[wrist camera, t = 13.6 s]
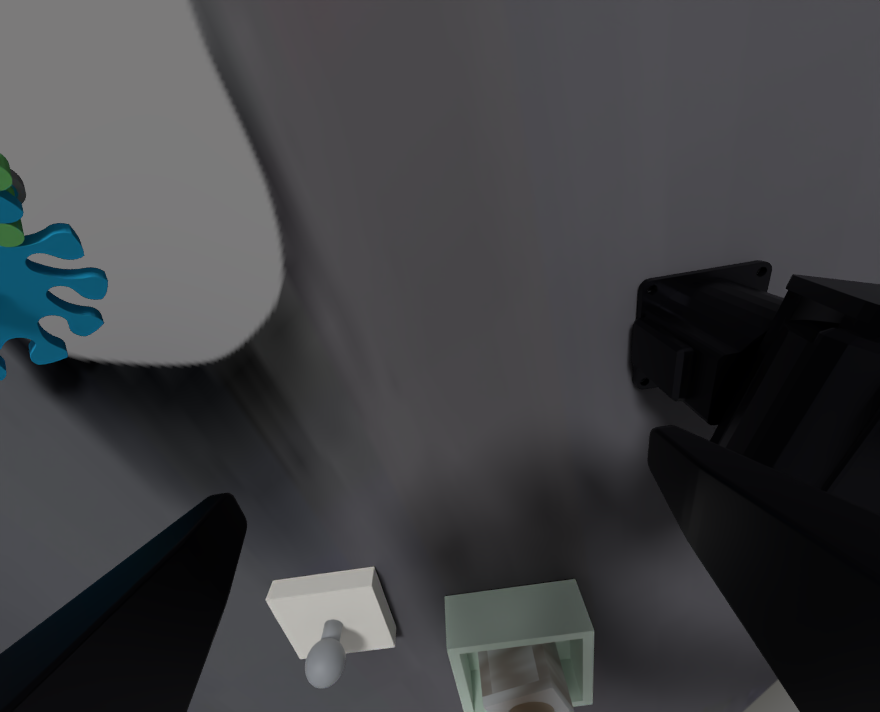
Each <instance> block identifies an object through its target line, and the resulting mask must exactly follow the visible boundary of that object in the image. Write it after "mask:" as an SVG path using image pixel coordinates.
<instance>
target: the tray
mask: <svg viewBox="0 0 880 712" xmlns="http://www.w3.org/2000/svg"><path fill="white" fill-rule="evenodd" d="M445 620H446V645H447V652H448V656H449V660H450V663H451V667H452V670H453V674H454V678H455V681H456V685H457V688H458V692H459V696H460V699H461V703H462V706H463V710H464V712H487V711H486V710H485V709H484V707H483V698H482V689H481V679H480V670H479V660H478V652H480V651H488V650H496V649H504V648H512V647H519V646H527V645H535V644H543V643H551V642H555V644H556V647H557V651H558V655H559V658H560V662H561V666H562V669H563V673H564V676H565V680H566V684H567V687H568V691H569V695H570V698H571V702H572V705H573V707H575V706H583V705H592V704H593V664H594V629H593V626H592V623H591V620H590V618H589V615H588V612H587V610H586V607H585V604H584V601H583V599H582V596H581V593H580V591H579V588H578V585H577V582H576V580H575V579H570V580H563V581H555V582H548V583H540V584H533V585H525V586H518V587H510V588H503V589H495V590H488V591H480V592H473V593H465V594H458V595H451V596H445Z"/></svg>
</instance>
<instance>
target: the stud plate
mask: <svg viewBox="0 0 880 712" xmlns="http://www.w3.org/2000/svg"><path fill="white" fill-rule="evenodd" d="M266 602H267V604H268V605H269V607H270V609H271V611H272V612H273V614H274V616H275V617H276V619H277V621H278V622H279V624H280V626H281V627H282V629H283V631H284V633H285V634H286V636H287V638H288V639H289V641H290V643H291V644H292V646H293V648H294V650H295V651H296V653H297V655H298V656H299V658H300V659H306V662H305V673H306V677H307V679H308V681H309V682H310V684H311V685H313V686H314V687H316V688H327V687H330V686H331V685H333V684H334V683H335V682H336V681H337V680H338V679H339V678H340V676H341V675H342V673H343V670H344V667H345V662H346V655H345V653H353V652H361V651H369V650H377V649H384V648H392V647H395V640H396V625H395V622H394V619H393V617H392V614H391V611H390V608H389V606H388V603H387V600H386V597H385V595H384V592H383V589H382V586H381V584H380V581H379V578H378V576H377V573H376V570H375V567H367V568H360V569H353V570H345V571H338V572H331V573H324V574H316V575H309V576H302V577H295V578H287V579H280V580H273V582H272V584H271V587H270V590H269V592H268V595H267V597H266Z"/></svg>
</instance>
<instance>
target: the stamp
mask: <svg viewBox="0 0 880 712" xmlns="http://www.w3.org/2000/svg"><path fill="white" fill-rule="evenodd" d="M478 660H479V670H480V679H481V689H482V698H483V707H484V709H485V710H486V711H487V712H574V709H573V705H572V702H571V698H570V695H569V691H568V687H567V684H566V680H565V676H564V673H563V669H562V666H561V662H560V658H559V655H558V651H557V647H556V644H555V642H551V643H543V644H535V645H527V646H519V647H512V648H504V649H496V650H488V651H480V652H478Z"/></svg>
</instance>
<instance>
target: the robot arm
mask: <svg viewBox="0 0 880 712" xmlns="http://www.w3.org/2000/svg"><path fill="white" fill-rule="evenodd" d="M759 268H761V270H760V272H759V273H758V274H757V271H758V269H759ZM771 272H772V266H771V264H770V263H768V262H765V261H758V260H757V261H751V262H745V263H739V264H733V265H727V266H721V267H715V268H709V269H703V270H697V271H691V272H685V273H679V274H673V275H667V276H661V277H655V278H649V279H646V280H644V281H643V282H642V283H641V284H640V286H639V292H638V307H637V319H636V320H635V322H634V324H633V339H632V355H631V363H632V364H633V365H634V367H633V383H634V384H635V385H636V386H637V387H638V388H639V389H649V388H655V387H659V388H660V389H661V390H662V391H663V392H665V393H666V394H667V395H668V396H669V397H670V398H671V399H673V400H674V401H683V402H684V403H685V404H686V405H688V406H689V407H690V408H691V409H692V410H693V411H694V412H696V413H697V414H698V415H699V416H700V417H701V418H703V419H704V420H705V421H706V422H707V423H708V424H710V425H718V424H719V425H718V426H717V428H716V430H715V432H714V434H713V436H712V438H711V440H710V441H708V440H706V439H704V438H702V437H699V436H697V435H695V434H692V433H690V432H688V431H686V430H683V429H681V428H679V427H676V426H673V425H669V426H662V427H656V428H653V429H652V430H651V432H650V437H649V448H648V465H649V468H650V471H651V473H652V474H653V476H654V478H655V480H656V482H657V484H658V486H659V488H660V490H661V492H662V494H663V496H664V497H665V499H666V501H667V503H668V505H669V507H670V509H671V511H672V513H673V515H674V517H675V518H676V520H677V522H678V524H679V526H680V528H681V530H682V532H683V533H684V535H685V537H686V539H687V541H688V542H689V544H690V545H691V547H692V548H693V550H694V552H695V553H696V555H697V556H698V558H699V559H700V561H701V562H702V564H703V565H704V567H705V568H706V570H707V571H708V573H709V575H710V576H711V578H712V579H713V581H714V582H715V584H716V585H717V587H718V588H719V590H720V591H721V593H722V594H723V596H724V597H725V599H726V600H727V602H728V603H729V605H730V606H731V608H732V609H733V611H734V612H735V614H736V616H737V617H738V619H739V620H740V622H741V623H742V625H743V626H744V628H745V629H746V631H747V632H748V634H749V635H750V637H751V638H752V640H753V641H754V643H755V644H756V646H757V647H758V649H759V650H760V652H761V654H762V655H763V657H764V658H765V660H766V661H767V663H768V664H769V666H770V667H771V669H772V670H773V672H774V673H775V675H776V676H777V678H778V679H779V681H780V682H781V684H782V685H783V687H784V688H785V690H786V692H787V693H788V695H789V696H790V698H791V699H792V701H793V702H794V704H795V705H796V707H797V708H798V710H799V711H800V712H880V284H872V283H863V282H855V281H846V280H838V279H829V278H820V277H812V276H803V275H794V274H793V275H792V277H791V279H790V281H789V283H788V284H787V286H786V289H788V292H787V294H786V296H785V298H782V297H779V296H776V295H773V294H770V293H767V290H768V285H769V281H770V276H771ZM652 285H653V289H652V290H651V292H647V290H648V288H649V287H650V286H652ZM644 378H645V380H644V381H643V382H641V380H642V379H644ZM246 530H247V521H246V518H245V516H244V514H243V512H242V510H241V508H240V506H239V505H238V503H237V501H236V499H235V497H234V496H233V495H232V494H230V493H222V494H215V495H211V496H209V497H207V498H206V499H204V500H203V501H202V502H200V503H199V504H198V505H196V506H195V507H194V508H193V509H191V510H190V511H189V512H187V513H186V514H185V515H183V516H182V517H181V518H179V519H178V520H177V521H175V522H174V523H173V524H171V525H170V526H169V527H167V528H166V529H165V530H163V531H162V532H161V533H159V534H158V535H157V536H156V537H154V538H153V539H152V540H150V541H149V542H148V543H146V544H145V545H144V546H142V547H141V548H140V549H138V550H137V551H136V552H134V553H133V554H132V555H130V556H129V557H128V558H126V559H125V560H124V561H122V562H121V563H120V564H119V565H117V566H116V567H115V568H113V569H112V570H111V571H109V572H108V573H107V574H105V575H104V576H103V577H101V578H100V579H99V580H97V581H96V582H95V583H93V584H92V585H91V586H89V587H88V588H87V589H86V590H84V591H83V592H82V593H80V594H79V595H78V596H76V597H75V598H74V599H72V600H71V601H70V602H68V603H67V604H66V605H64V606H63V607H62V608H60V609H59V610H58V611H56V612H55V613H54V614H52V615H51V616H50V617H49V618H47V619H46V620H45V621H43V622H42V623H41V624H39V625H38V626H37V627H35V628H34V629H33V630H31V631H30V632H29V633H27V634H26V635H25V636H23V637H22V638H21V639H19V640H18V641H17V642H15V643H14V644H13V645H12V646H10V647H9V648H8V649H6V650H5V651H4V652H2V653H1V654H0V712H187V710H188V707H189V704H190V702H191V699H192V696H193V693H194V691H195V688H196V685H197V683H198V680H199V677H200V675H201V672H202V669H203V666H204V664H205V661H206V658H207V656H208V653H209V650H210V648H211V645H212V642H213V639H214V637H215V634H216V631H217V629H218V626H219V623H220V620H221V618H222V615H223V612H224V609H225V606H226V603H227V600H228V596H229V593H230V590H231V586H232V582H233V579H234V575H235V571H236V568H237V564H238V560H239V556H240V553H241V549H242V545H243V542H244V538H245V534H246Z"/></svg>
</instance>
